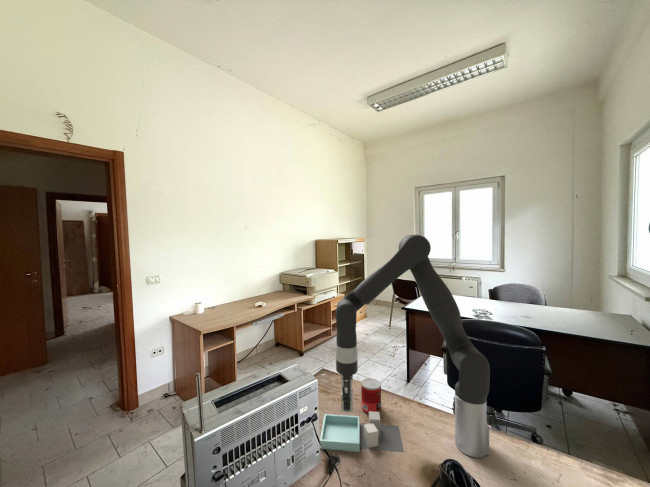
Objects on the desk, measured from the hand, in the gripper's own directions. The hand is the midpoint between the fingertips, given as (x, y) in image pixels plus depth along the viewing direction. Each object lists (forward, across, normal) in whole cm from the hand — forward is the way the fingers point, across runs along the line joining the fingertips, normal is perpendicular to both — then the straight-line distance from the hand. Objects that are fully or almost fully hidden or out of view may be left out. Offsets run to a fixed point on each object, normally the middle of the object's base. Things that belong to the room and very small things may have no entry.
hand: (347, 405), depth 92 cm
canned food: (+12, +17, -9) cm, 23 cm away
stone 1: (+1, 0, 0) cm, 1 cm away
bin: (+12, +1, +2) cm, 12 cm away
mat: (+12, +2, -12) cm, 17 cm away
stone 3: (+12, -1, -8) cm, 14 cm away
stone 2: (+12, +4, -10) cm, 16 cm away
